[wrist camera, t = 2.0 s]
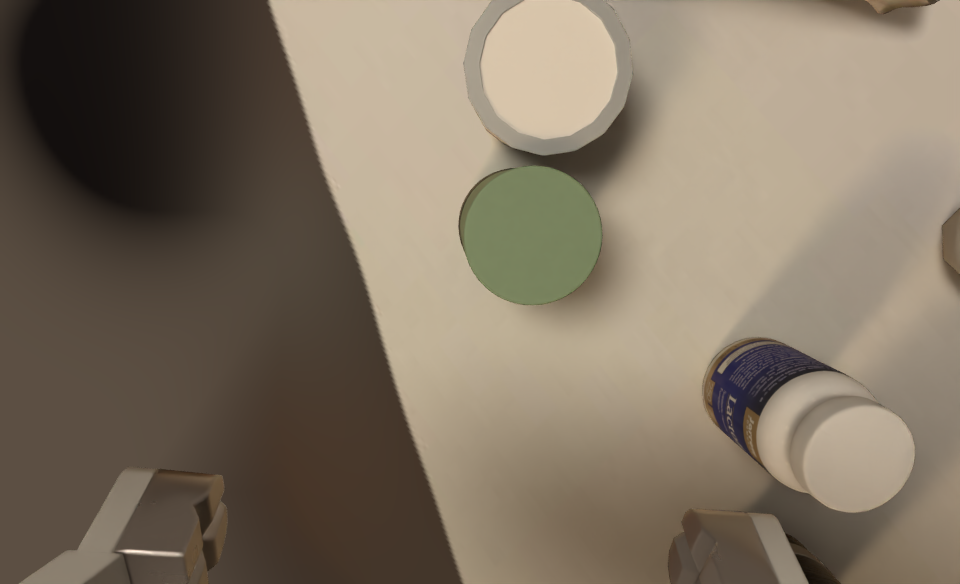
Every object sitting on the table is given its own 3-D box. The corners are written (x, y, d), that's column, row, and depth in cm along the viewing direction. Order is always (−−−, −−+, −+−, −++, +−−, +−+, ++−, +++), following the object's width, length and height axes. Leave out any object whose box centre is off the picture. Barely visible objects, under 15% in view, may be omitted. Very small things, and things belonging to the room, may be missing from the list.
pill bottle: (677, 381, 36) (764, 453, 27) (760, 313, 36) (879, 362, 26) (739, 456, 37) (844, 553, 28) (820, 391, 37) (956, 465, 27)
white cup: (440, 47, 33) (438, 11, 26) (570, -1, 33) (604, -49, 26) (486, 180, 34) (497, 179, 27) (613, 134, 34) (655, 121, 27)
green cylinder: (568, 168, 34) (605, 163, 26) (567, 278, 35) (602, 305, 27) (457, 169, 34) (461, 164, 26) (459, 280, 35) (463, 308, 27)
